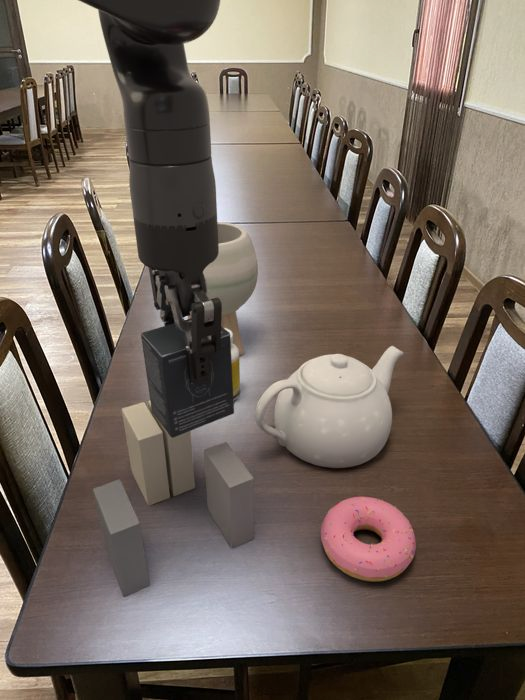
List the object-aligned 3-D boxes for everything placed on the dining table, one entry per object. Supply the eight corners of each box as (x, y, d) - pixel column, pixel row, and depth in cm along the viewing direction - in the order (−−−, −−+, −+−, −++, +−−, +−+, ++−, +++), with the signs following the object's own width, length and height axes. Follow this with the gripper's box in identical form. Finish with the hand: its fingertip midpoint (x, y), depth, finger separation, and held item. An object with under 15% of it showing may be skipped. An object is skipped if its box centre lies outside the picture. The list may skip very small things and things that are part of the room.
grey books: (123, 597, 58) (110, 534, 53) (106, 549, 63) (92, 488, 58) (254, 538, 65) (253, 478, 59) (228, 500, 70) (226, 441, 65)
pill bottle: (246, 389, 91) (246, 329, 85) (229, 410, 86) (227, 348, 80) (212, 380, 93) (209, 321, 87) (193, 400, 88) (189, 339, 82)
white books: (148, 506, 69) (138, 440, 63) (131, 472, 74) (121, 408, 68) (195, 488, 72) (189, 423, 66) (176, 456, 77) (169, 394, 71)
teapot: (283, 390, 91) (285, 318, 84) (394, 408, 87) (406, 334, 80) (253, 464, 75) (252, 385, 68) (386, 490, 71) (400, 409, 64)
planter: (158, 359, 99) (145, 242, 87) (194, 320, 112) (188, 214, 100) (240, 375, 95) (238, 255, 83) (268, 332, 108) (270, 223, 96)
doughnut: (315, 581, 60) (317, 556, 58) (323, 506, 69) (325, 482, 67) (416, 596, 58) (422, 572, 56) (410, 518, 67) (415, 494, 65)
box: (211, 390, 64) (206, 312, 59) (235, 415, 60) (232, 333, 55) (150, 412, 61) (139, 330, 55) (170, 440, 57) (161, 355, 51)
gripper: (112, 194, 52) (134, 343, 61) (162, 240, 41) (179, 412, 50) (184, 185, 55) (195, 328, 64) (248, 225, 45) (250, 390, 53)
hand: (188, 364), depth 57 cm, fingers closed on box, 5 cm apart
